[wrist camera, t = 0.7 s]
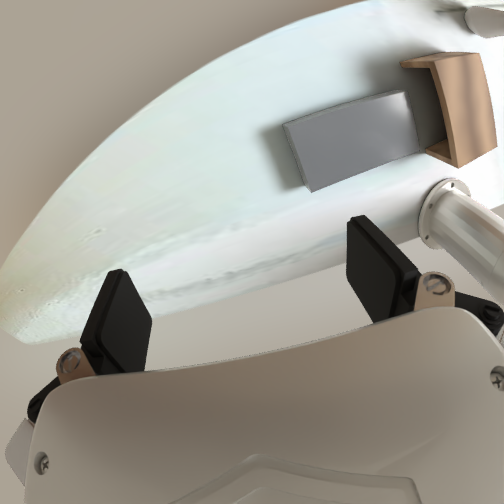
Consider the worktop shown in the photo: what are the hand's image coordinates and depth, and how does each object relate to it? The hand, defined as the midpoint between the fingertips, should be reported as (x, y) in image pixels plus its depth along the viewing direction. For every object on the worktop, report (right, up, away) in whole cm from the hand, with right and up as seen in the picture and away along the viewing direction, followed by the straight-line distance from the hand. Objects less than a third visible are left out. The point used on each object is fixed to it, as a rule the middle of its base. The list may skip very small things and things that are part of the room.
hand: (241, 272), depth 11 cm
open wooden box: (+26, +22, +16) cm, 38 cm away
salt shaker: (+35, +37, +8) cm, 52 cm away
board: (+13, +15, +19) cm, 27 cm away
